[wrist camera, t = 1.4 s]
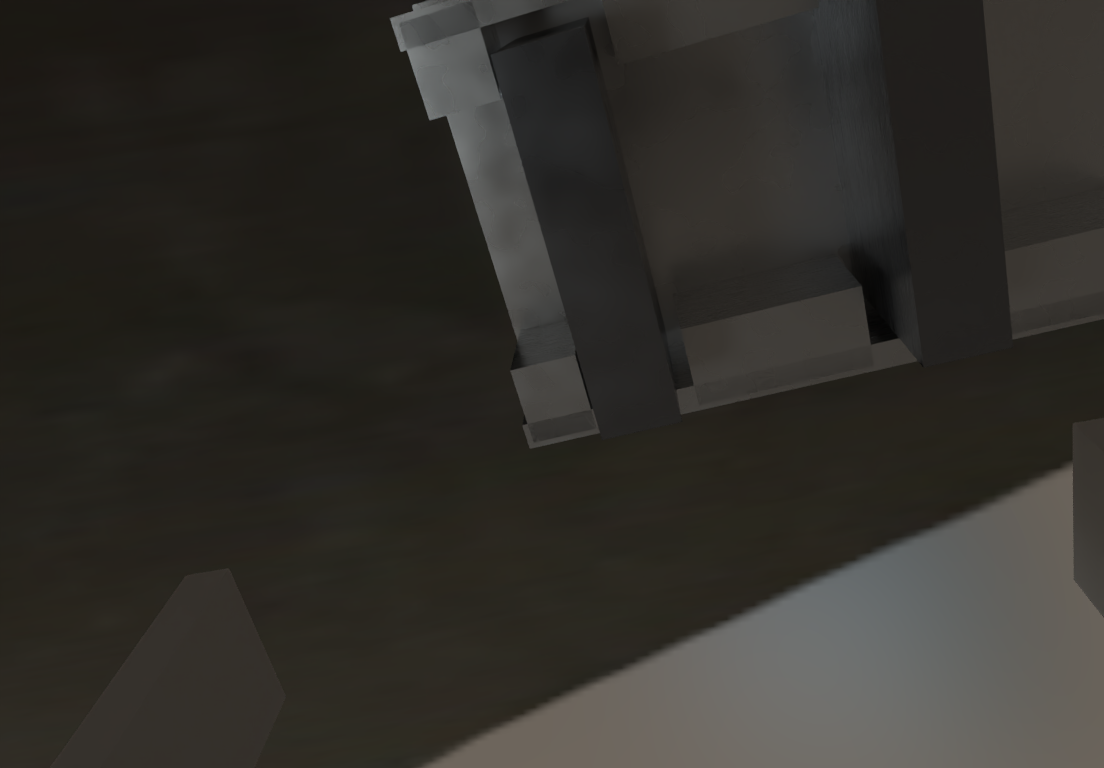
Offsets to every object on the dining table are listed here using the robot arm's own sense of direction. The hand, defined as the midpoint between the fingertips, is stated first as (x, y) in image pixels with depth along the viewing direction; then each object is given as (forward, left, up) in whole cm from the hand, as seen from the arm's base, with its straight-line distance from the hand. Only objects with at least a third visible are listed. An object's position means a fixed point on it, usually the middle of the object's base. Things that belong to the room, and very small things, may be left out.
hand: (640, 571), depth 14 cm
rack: (-1, +9, -23) cm, 25 cm away
